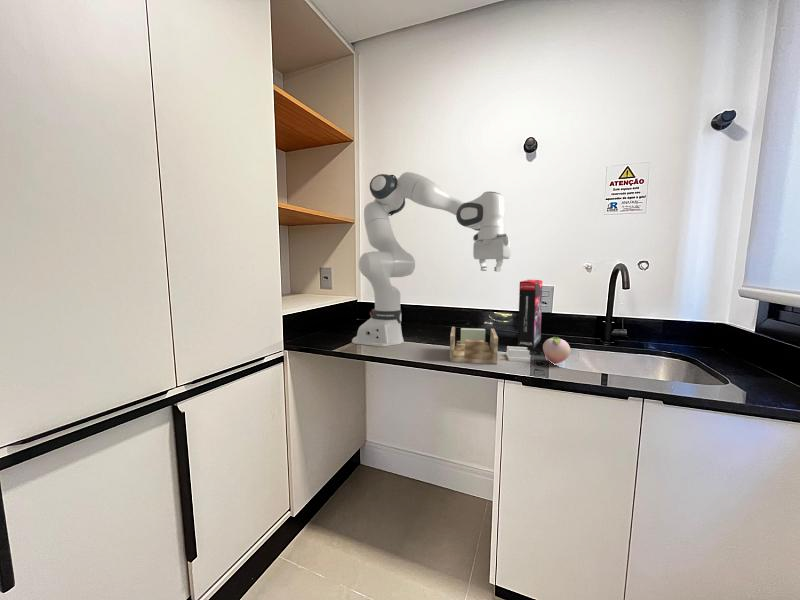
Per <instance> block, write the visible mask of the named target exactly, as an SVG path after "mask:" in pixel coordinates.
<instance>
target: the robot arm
mask: <svg viewBox="0 0 800 600" xmlns="http://www.w3.org/2000/svg"><path fill="white" fill-rule="evenodd" d="M369 191H370V194H371V195H372V197H373V198H374V200H373V201H371V202H369V203H367V204H366V205H365V207H364V209H363V219H364V221H363V222H364V226H365V227H364V228H365V230H366V235H367V239H368V242H369V244H370V246H371V247H372V248H374V250H377V251H369V252H365V253H362V254H361V256H360V258H359V260H358V269H359V272H360V273H361V274H362V276H363V277H365V278H366V279H367V280H368V282H369V283H370V284H371V288H372V289H373V294H374V295H373V297H374V308H372V309H371V310H370V311H369V315H370V318H369V319H367V320H366V321H365V322H364V323H362V324H361V325H360V326H359V327H358V330H357V333H356V336H354V337H353V338H351V343H352V344H353V345H354V344H356V345H364V346H371V347H373V346H374V347H383V348H384V347H389V346H395V345H396V346H397V345H400V344H403V343H404V341H405V340H404V337H403V332H402V325H401V324H402V309H401V292H400V290H399V289H398V288H397V287H396V286H394V285H392V283H391V281H390V278H403V277H407V276H408V277H409V276H411V275H412V274H413V273H414V271H415V269H416V261H415V257H414V256H413V254H411V253H409V252H408V251H406V250H405V249H404V248H403V247H402V246H401V245H400V243H399V242H398V241H397V239H396V237H395V236H394V235H395V234H394V232H393V228H392V224H391V221H390V217H391V216H393V215H394V214H397V213H400V212H401V211H402V210H403V209H404V208H405V205H406V199H408V200H410V201H412V202H413V203H416V204H417V205H420V206H424V207H427V208H431V209H437V210H442V211H444V212H449V213H451V214H452V215H454V216H455V217H456V221H457V223H458V224H459V225H460V226H463V227H465V228H468V229H472V230H473V231H477V233H475V234H473V236H472V237H473V238H472V240H473V248H472V249H473V251H472V253H473V254H472V255H473V259H474V260H478V263H479V266H480V271H482V272H486V271H487V266H486V261H487V260H495V263H496V264H495V266H494V269H493V271H494V272H498V273H499V272H501V269H502V268H501V267H502V266H503V263H504V260H509V259H510V258H511V242H510V237H509V236H508V234H507V233H504V231H505V226H504V218H505V213H506V212H505V209H506V207H505V198H504V196H503V195H502V194H501V193H499V192H496V191H485V192H483V193H481V195H479V196H478V197H477V198H475V199H473V200H470V201H467V202H464V201H462V200H459V199H458V198H455V197H454V196H452V195H451V194H450V193H448V192H447V191H445V189H443V188H442V187H441V186H440V185H438V184H436V182H434V181H432V180H431V179H429V178H427V177H425V176H423V175H420V174H418V173H414V172H410V171H406V172H404V173H402V174H401V175H400V176H399V177H398V178H397V177H396V175H394V174H384V173H381V174H377V175H375V176H374V177H373V178H372V179H371V180H370V182H369Z"/></svg>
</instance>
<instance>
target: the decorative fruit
mask: <svg viewBox="0 0 800 600" xmlns="http://www.w3.org/2000/svg"><path fill="white" fill-rule="evenodd" d="M542 350H543V353H544V356H545V357H546V358H547V360H549V361H550V362H551V363H553V364H554V365H556V364H559V363H562V362H564V361H566V360H567V359H568V358H569V356H570V355H571V346H570V345H569V343H568V342H567V341H566V340H564V339H562V338H560V337H558V335H555V336H553V337H550V338H548V339H546V340H545V341H544V343H543V344H542Z"/></svg>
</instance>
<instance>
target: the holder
mask: <svg viewBox="0 0 800 600" xmlns="http://www.w3.org/2000/svg"><path fill="white" fill-rule="evenodd" d="M505 352H506V353H505V355H506V358H507V360H508V361H509V362H522V363H523V362H524V363H531V358H530V355H531V353H530V352H531V351H530V349H529V350H528V348H527V347H518V346H509V345H507V346H506V351H505Z"/></svg>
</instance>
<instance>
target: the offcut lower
mask: <svg viewBox="0 0 800 600" xmlns="http://www.w3.org/2000/svg"><path fill="white" fill-rule="evenodd" d="M464 358H468V359H482V351H476V350H466V348H465V350H464Z"/></svg>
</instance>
